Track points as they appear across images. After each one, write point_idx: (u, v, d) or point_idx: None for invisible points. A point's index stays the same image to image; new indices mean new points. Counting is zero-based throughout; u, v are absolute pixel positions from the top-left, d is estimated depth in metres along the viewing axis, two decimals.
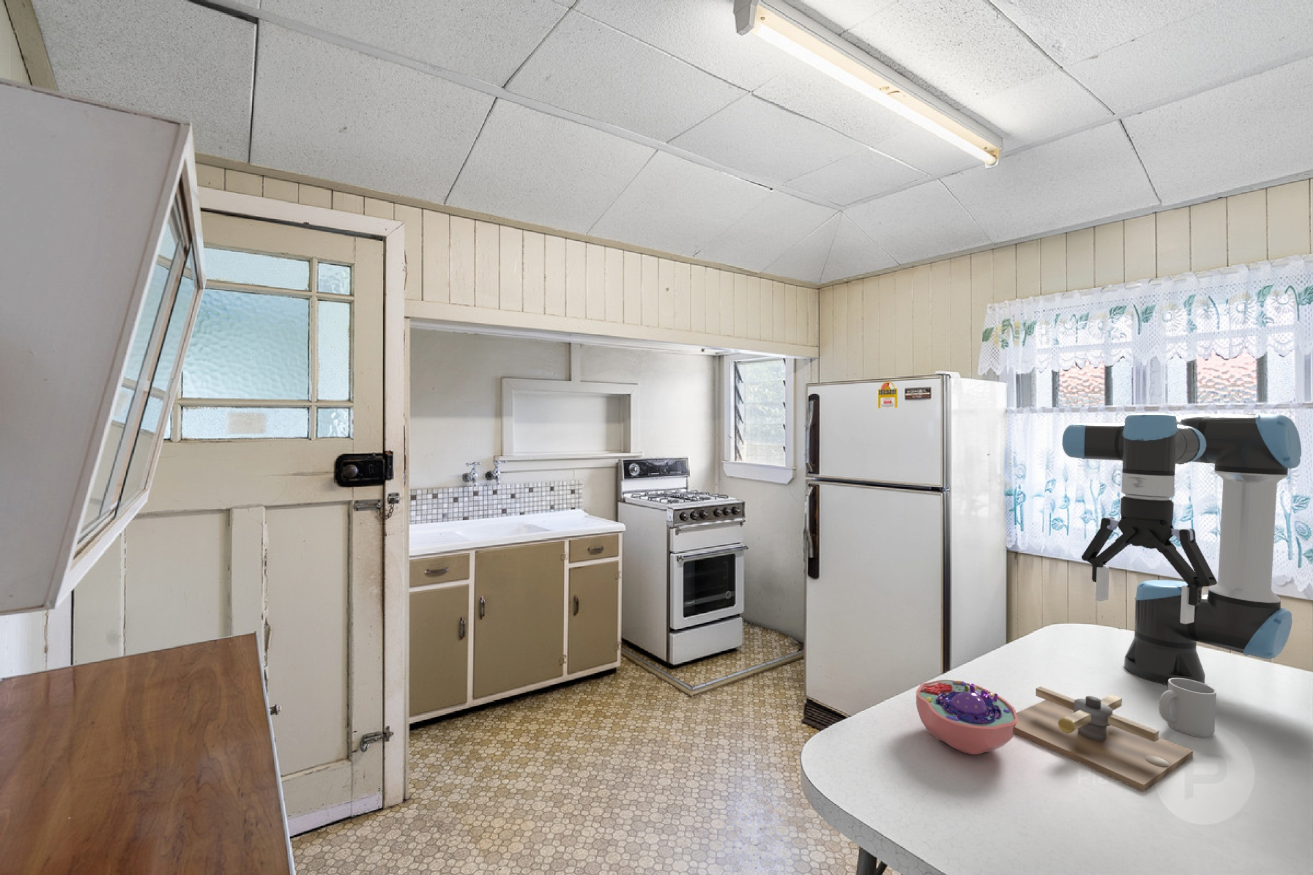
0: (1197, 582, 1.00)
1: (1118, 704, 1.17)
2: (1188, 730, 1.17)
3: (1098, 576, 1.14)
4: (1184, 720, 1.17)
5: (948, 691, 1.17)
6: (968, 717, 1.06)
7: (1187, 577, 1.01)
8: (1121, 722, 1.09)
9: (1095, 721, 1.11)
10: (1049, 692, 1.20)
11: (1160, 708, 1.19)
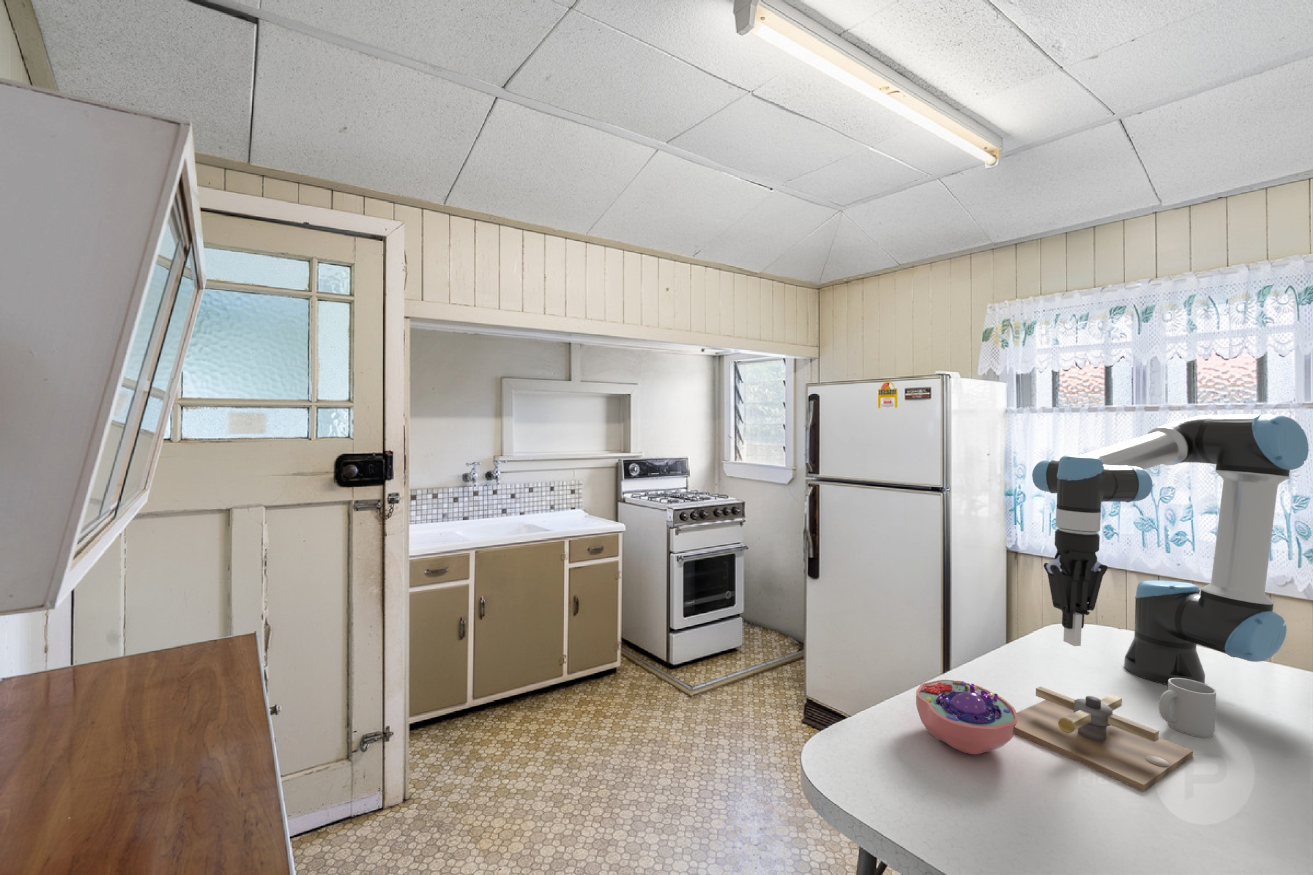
0: None
1: (1118, 704, 1.17)
2: (1188, 730, 1.17)
3: None
4: (1184, 720, 1.17)
5: (948, 691, 1.17)
6: (968, 717, 1.06)
7: None
8: (1121, 722, 1.09)
9: (1095, 721, 1.11)
10: (1049, 692, 1.20)
11: (1160, 708, 1.19)
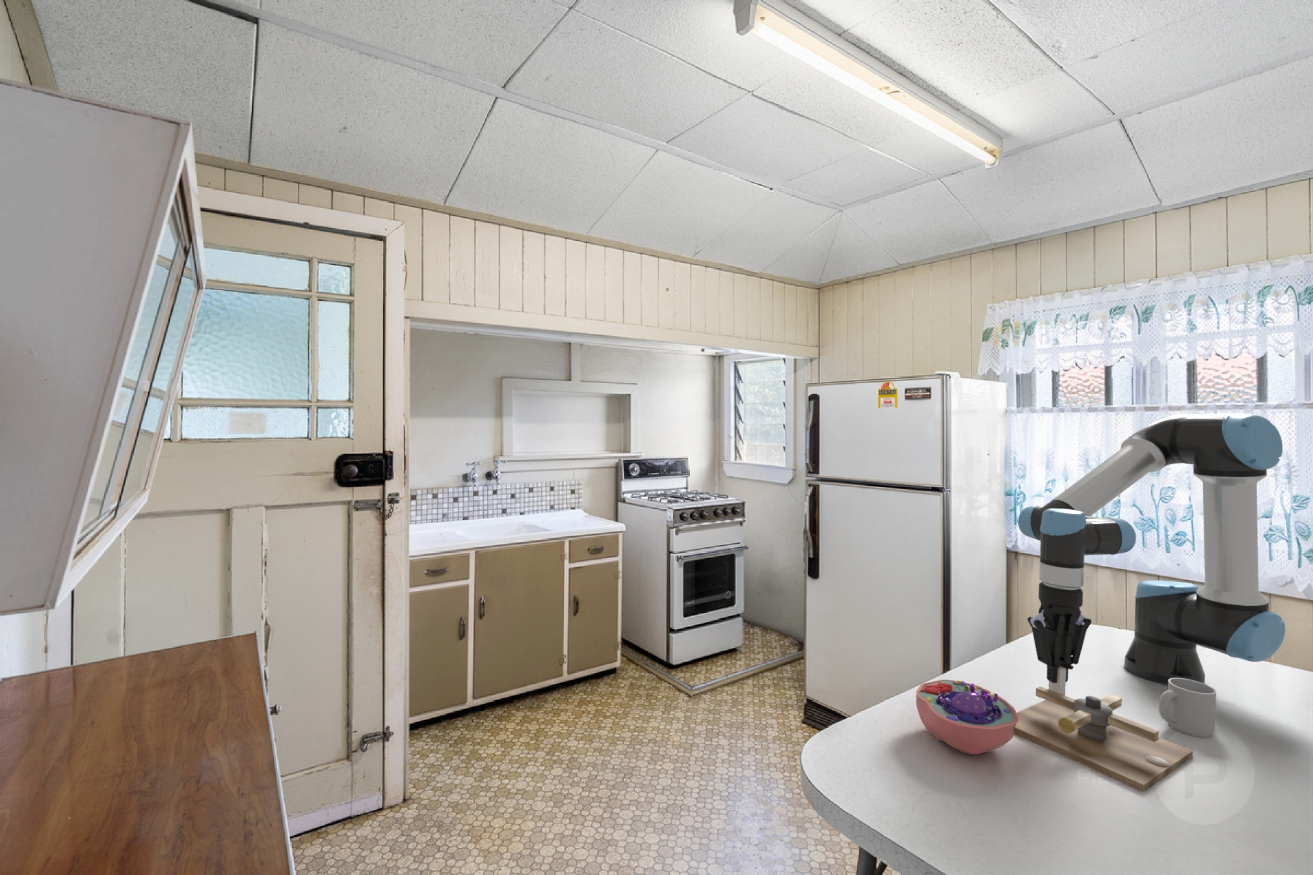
0: None
1: (1118, 704, 1.17)
2: (1188, 730, 1.17)
3: None
4: (1184, 720, 1.17)
5: (948, 691, 1.17)
6: (968, 717, 1.06)
7: None
8: (1121, 722, 1.09)
9: (1095, 721, 1.11)
10: (1049, 692, 1.20)
11: (1160, 708, 1.19)
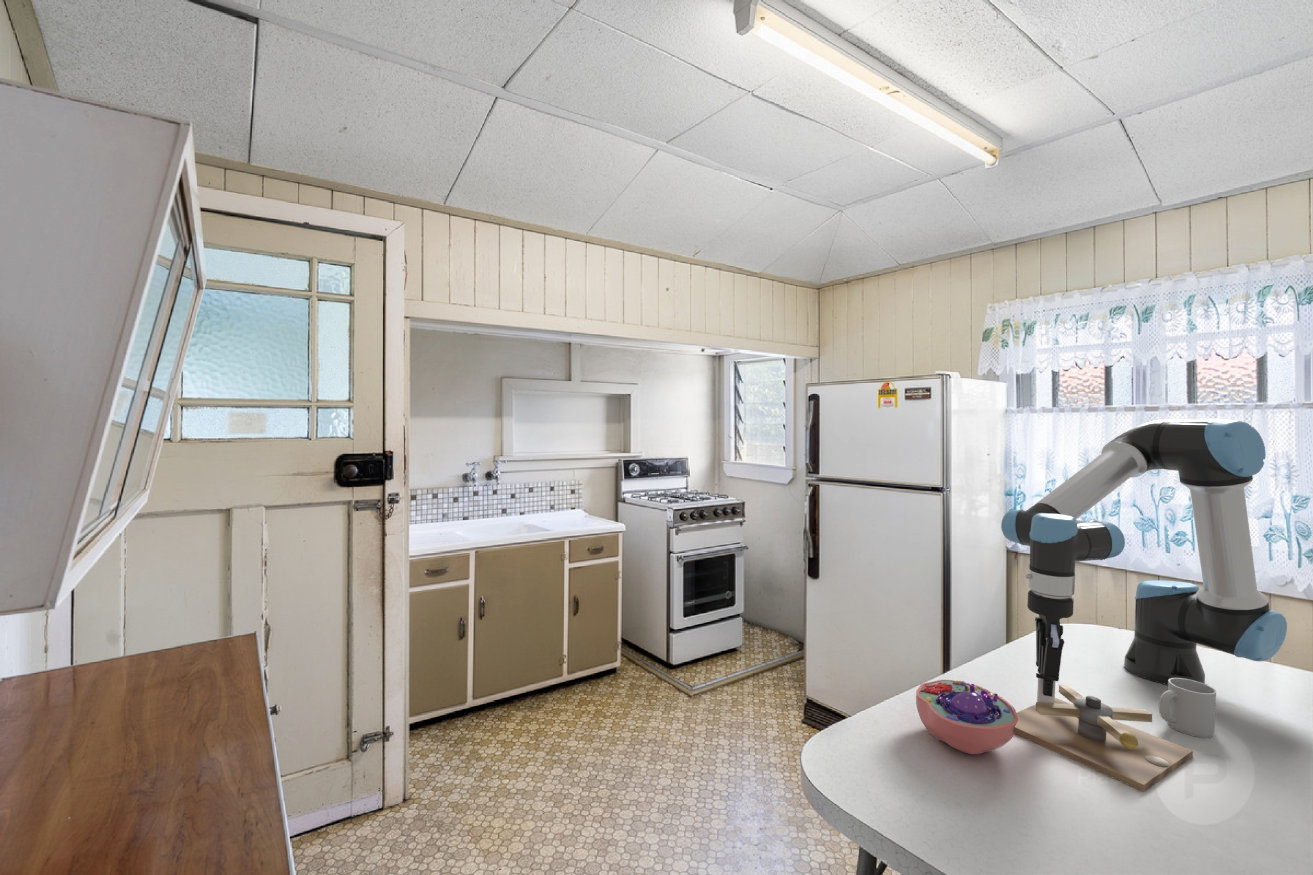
0: None
1: None
2: (1188, 730, 1.17)
3: (1038, 683, 1.17)
4: (1184, 720, 1.17)
5: (948, 691, 1.17)
6: (968, 717, 1.06)
7: (1041, 669, 1.15)
8: (1124, 713, 1.12)
9: None
10: (1052, 706, 1.14)
11: (1160, 708, 1.19)
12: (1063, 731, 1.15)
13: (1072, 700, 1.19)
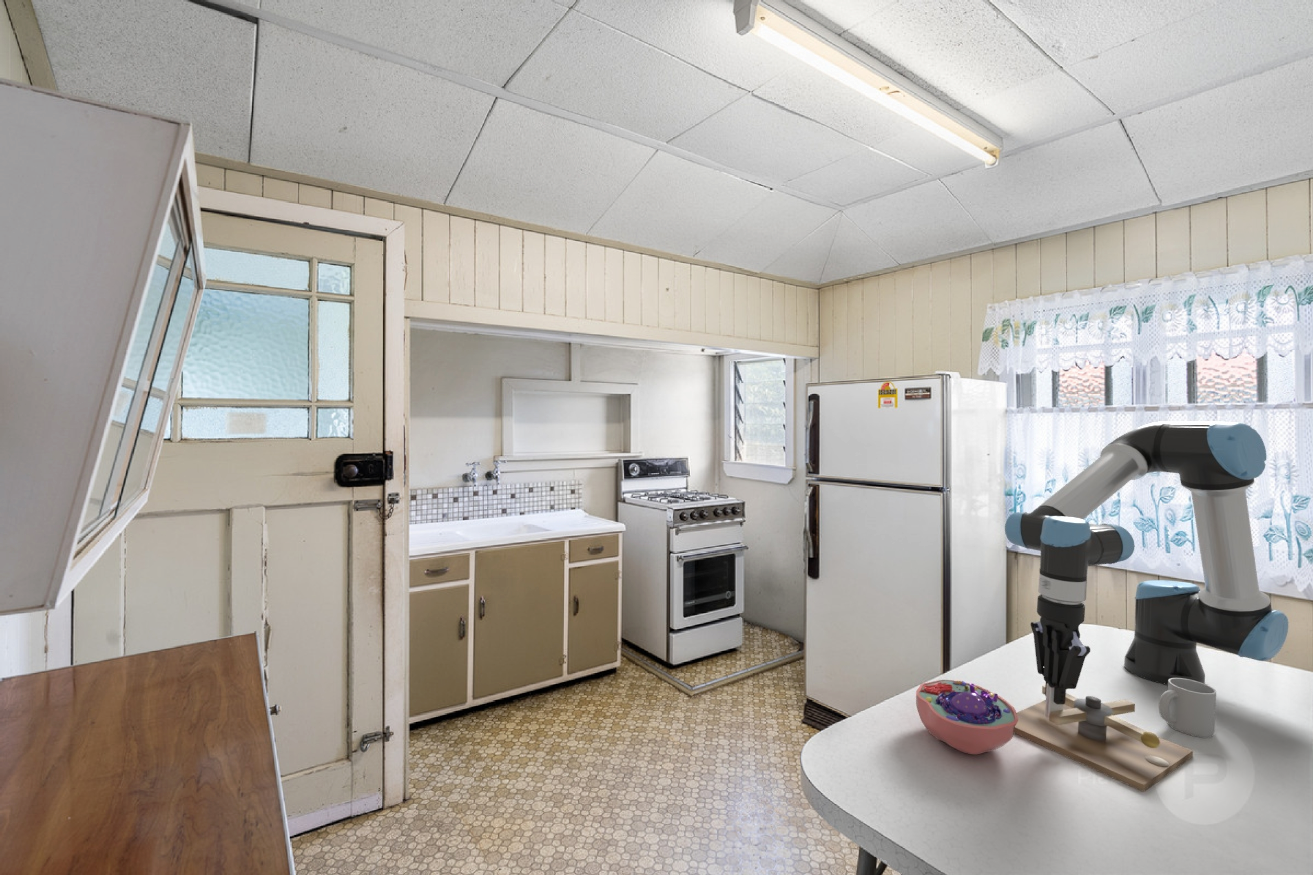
0: (1059, 686, 1.11)
1: None
2: (1188, 730, 1.17)
3: (1047, 692, 1.13)
4: (1184, 720, 1.17)
5: (948, 691, 1.17)
6: (968, 717, 1.06)
7: (1055, 678, 1.11)
8: (1116, 708, 1.14)
9: None
10: (1065, 714, 1.11)
11: (1160, 708, 1.19)
12: (1063, 731, 1.15)
13: None
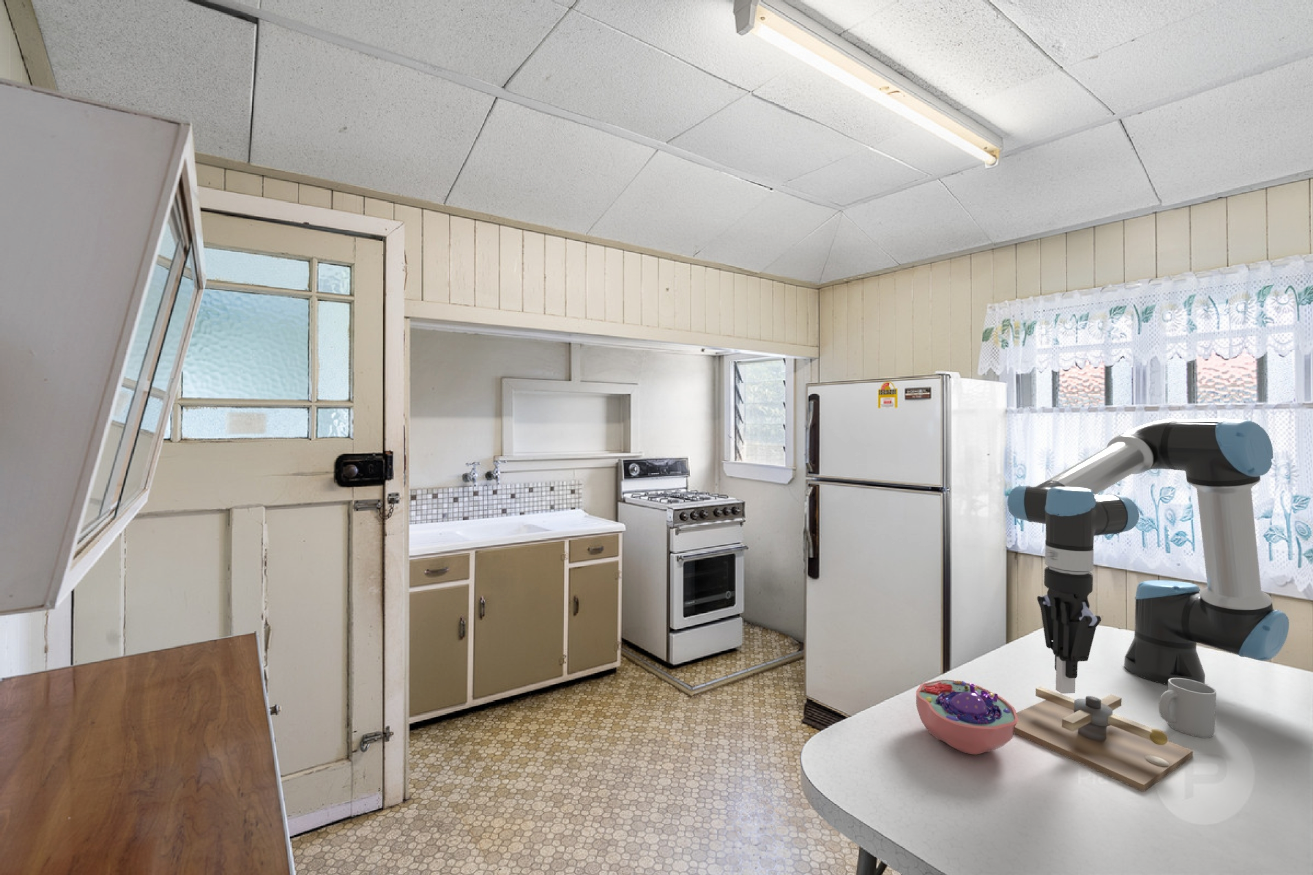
0: (1070, 659, 1.09)
1: None
2: (1188, 730, 1.17)
3: (1057, 666, 1.11)
4: (1184, 720, 1.17)
5: (948, 691, 1.17)
6: (968, 717, 1.06)
7: (1066, 651, 1.10)
8: (1110, 705, 1.16)
9: None
10: (1076, 718, 1.10)
11: (1160, 708, 1.19)
12: (1063, 731, 1.15)
13: (1061, 703, 1.18)
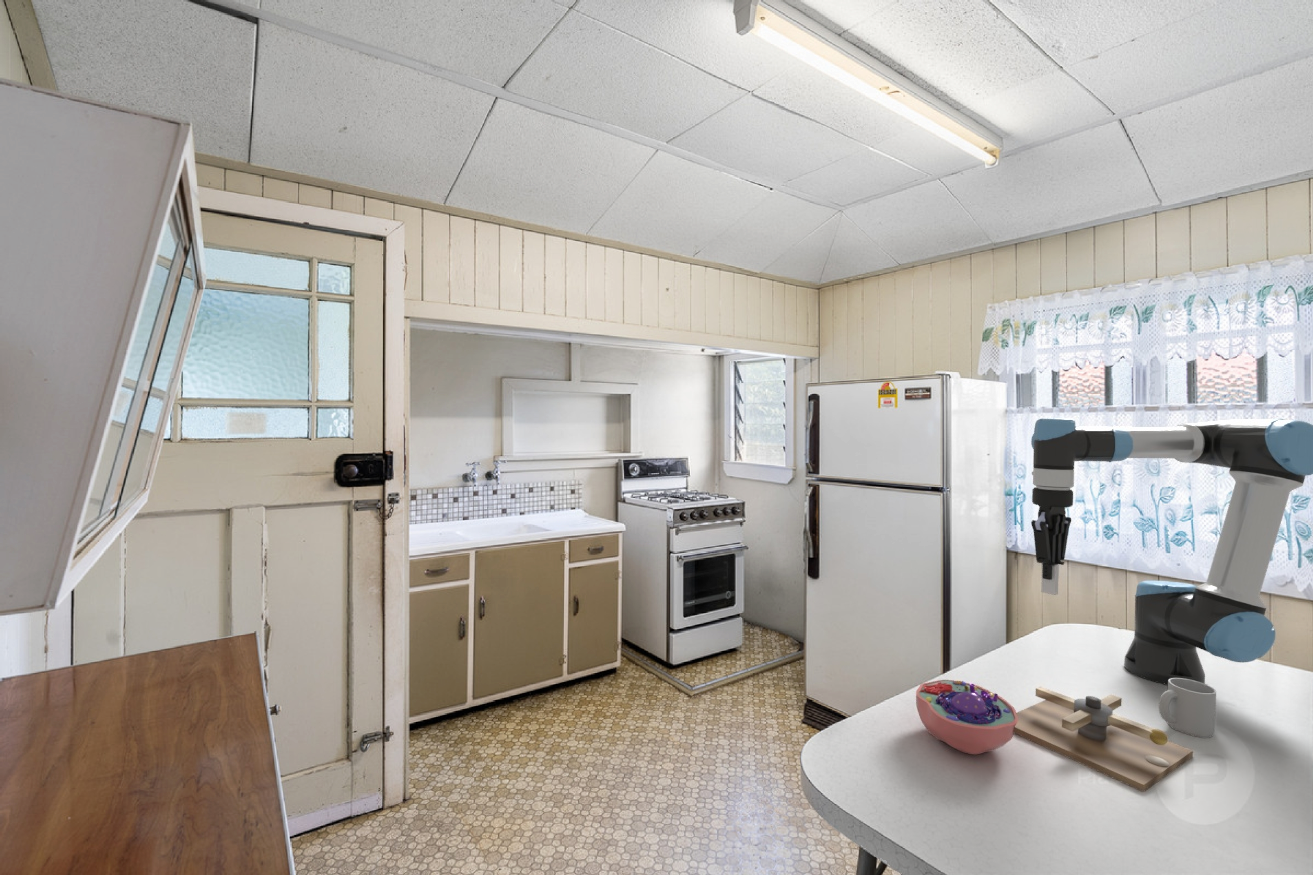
0: None
1: None
2: (1188, 730, 1.17)
3: None
4: (1184, 720, 1.17)
5: (948, 691, 1.17)
6: (968, 717, 1.06)
7: None
8: (1110, 705, 1.16)
9: None
10: (1076, 718, 1.10)
11: (1160, 708, 1.19)
12: (1063, 731, 1.15)
13: (1061, 703, 1.18)
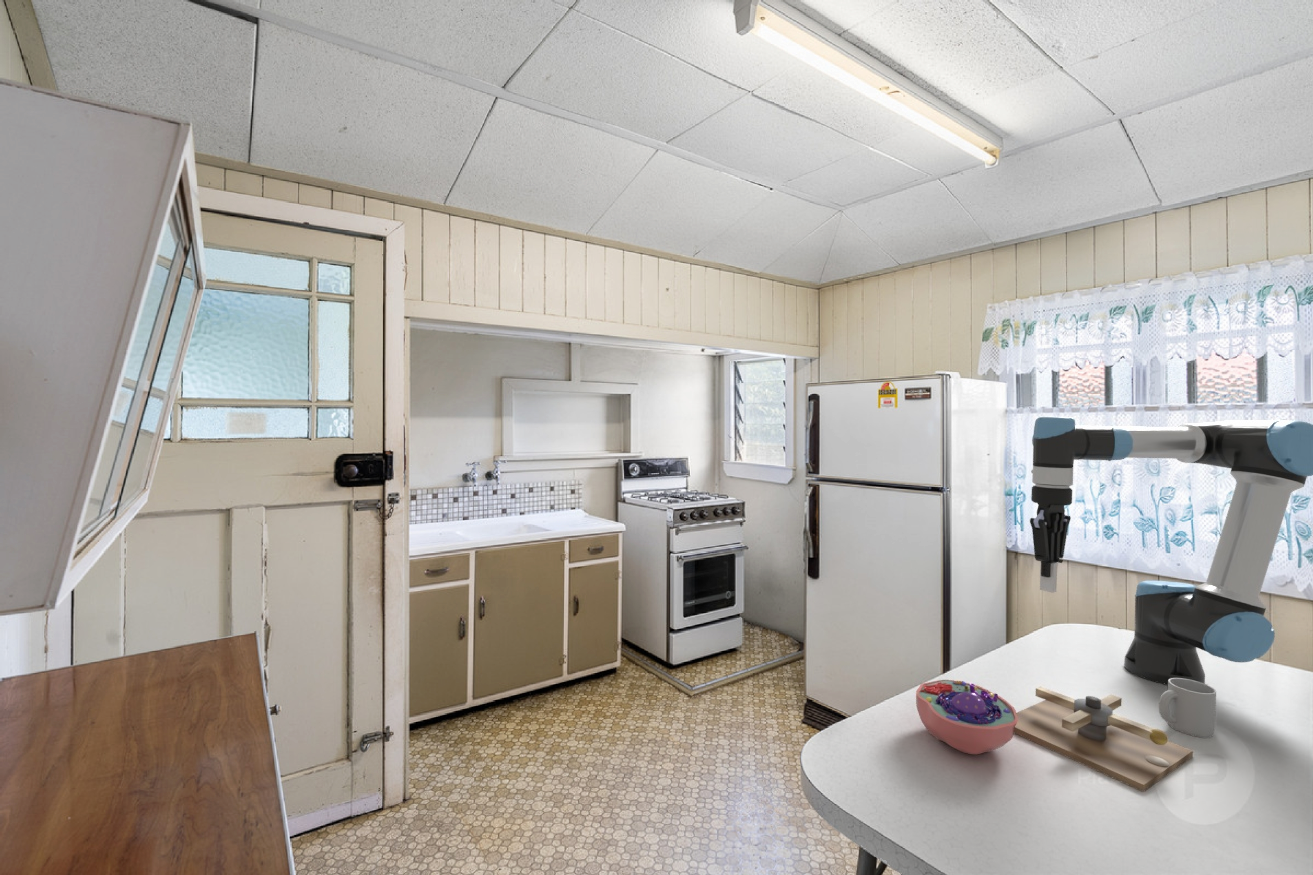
0: None
1: None
2: (1188, 730, 1.17)
3: None
4: (1184, 720, 1.17)
5: (948, 691, 1.17)
6: (968, 717, 1.06)
7: None
8: (1110, 705, 1.16)
9: None
10: (1076, 718, 1.10)
11: (1160, 708, 1.19)
12: (1063, 731, 1.15)
13: (1061, 703, 1.18)
